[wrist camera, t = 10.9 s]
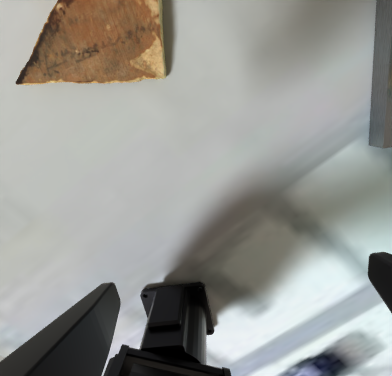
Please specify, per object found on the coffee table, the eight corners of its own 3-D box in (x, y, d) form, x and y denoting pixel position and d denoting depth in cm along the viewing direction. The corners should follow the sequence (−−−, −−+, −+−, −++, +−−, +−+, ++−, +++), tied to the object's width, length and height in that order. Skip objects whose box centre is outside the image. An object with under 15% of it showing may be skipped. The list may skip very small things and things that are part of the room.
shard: (30, 86, 18) (11, 84, 16) (1, -39, 15) (-25, -57, 14) (169, 84, 17) (165, 81, 16) (163, -46, 15) (157, -66, 13)
